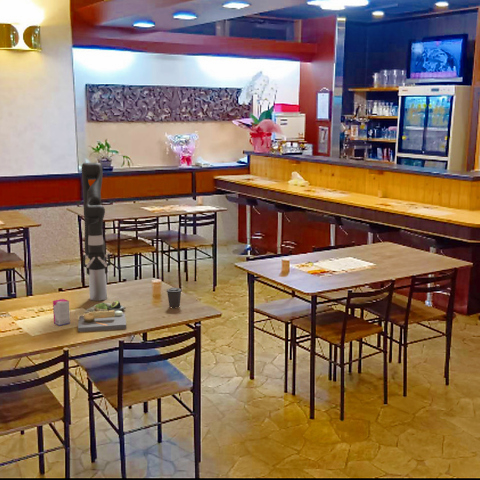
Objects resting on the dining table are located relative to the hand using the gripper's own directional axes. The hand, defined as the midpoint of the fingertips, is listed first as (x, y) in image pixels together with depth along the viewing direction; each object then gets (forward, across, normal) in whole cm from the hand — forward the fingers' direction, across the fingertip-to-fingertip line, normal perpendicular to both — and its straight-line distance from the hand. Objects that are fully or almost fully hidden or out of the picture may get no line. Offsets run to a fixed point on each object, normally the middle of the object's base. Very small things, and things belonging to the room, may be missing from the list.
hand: (97, 274), depth 321 cm
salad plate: (+18, -4, +9) cm, 21 cm away
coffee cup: (+18, -39, +10) cm, 44 cm away
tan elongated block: (+16, -1, +30) cm, 34 cm away
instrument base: (+18, -2, +30) cm, 35 cm away
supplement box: (+18, +17, +25) cm, 36 cm away
